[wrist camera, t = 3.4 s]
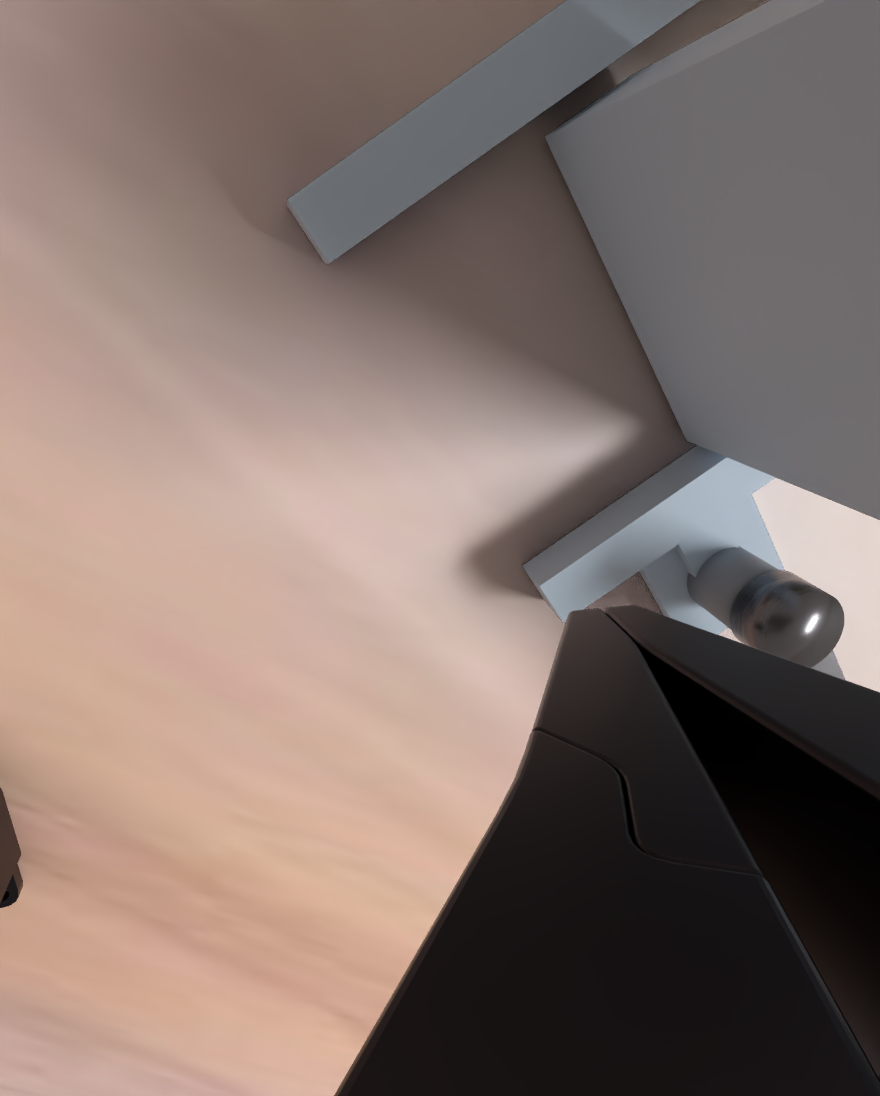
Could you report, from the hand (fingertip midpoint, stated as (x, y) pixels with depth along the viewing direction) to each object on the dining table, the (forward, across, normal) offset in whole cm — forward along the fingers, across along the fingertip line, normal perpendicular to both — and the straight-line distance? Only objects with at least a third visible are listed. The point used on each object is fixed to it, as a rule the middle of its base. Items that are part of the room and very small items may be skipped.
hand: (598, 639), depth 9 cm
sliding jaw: (+13, +5, +2) cm, 14 cm away
